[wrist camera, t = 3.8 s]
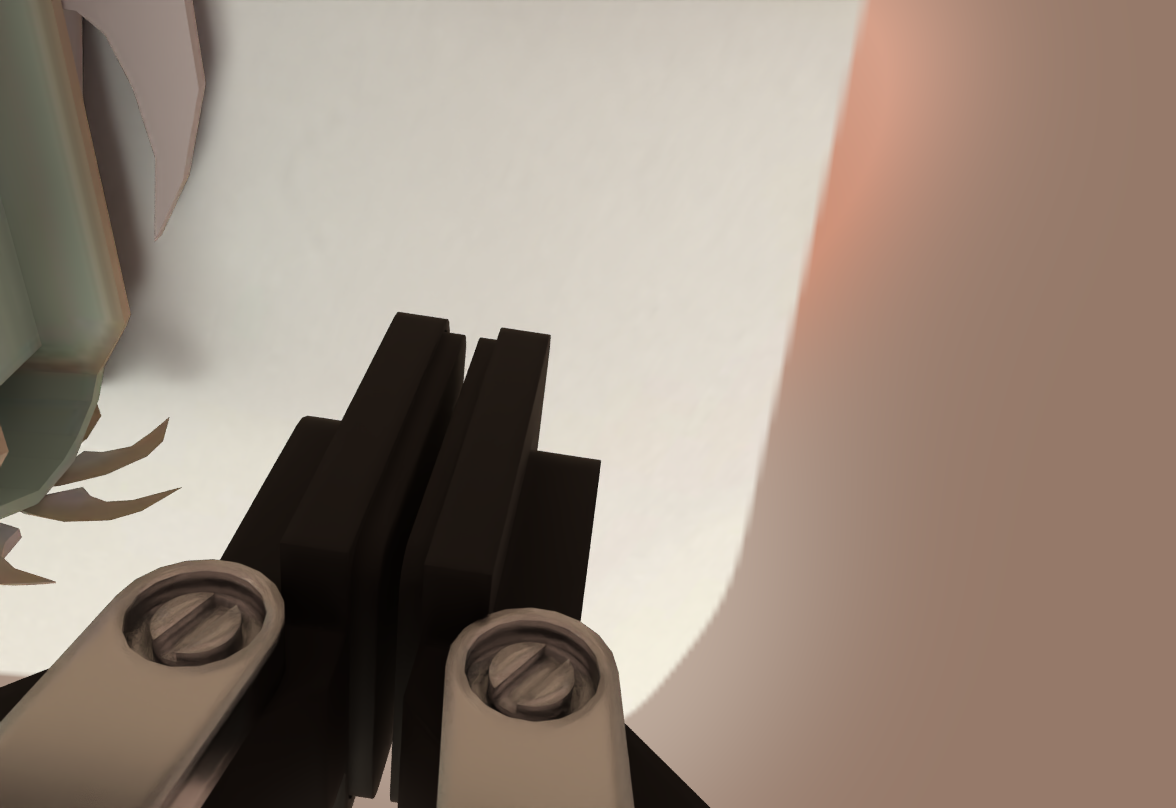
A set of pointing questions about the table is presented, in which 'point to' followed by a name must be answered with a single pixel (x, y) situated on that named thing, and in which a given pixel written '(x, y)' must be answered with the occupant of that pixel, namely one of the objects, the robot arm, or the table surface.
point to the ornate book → (74, 241)
